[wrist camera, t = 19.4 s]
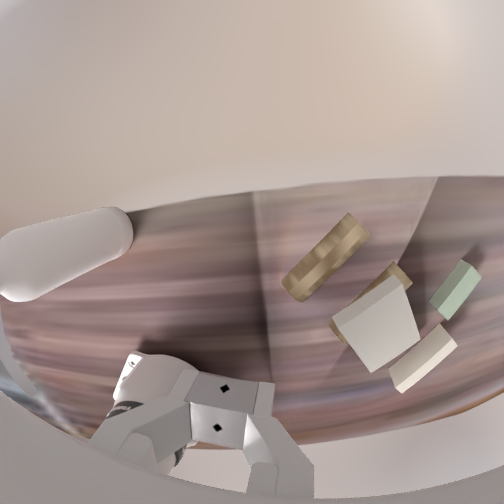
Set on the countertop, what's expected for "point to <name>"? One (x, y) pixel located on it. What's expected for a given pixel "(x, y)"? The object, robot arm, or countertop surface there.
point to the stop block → (421, 358)
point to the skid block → (455, 289)
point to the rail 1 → (325, 258)
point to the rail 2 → (388, 272)
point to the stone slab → (379, 324)
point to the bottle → (60, 251)
